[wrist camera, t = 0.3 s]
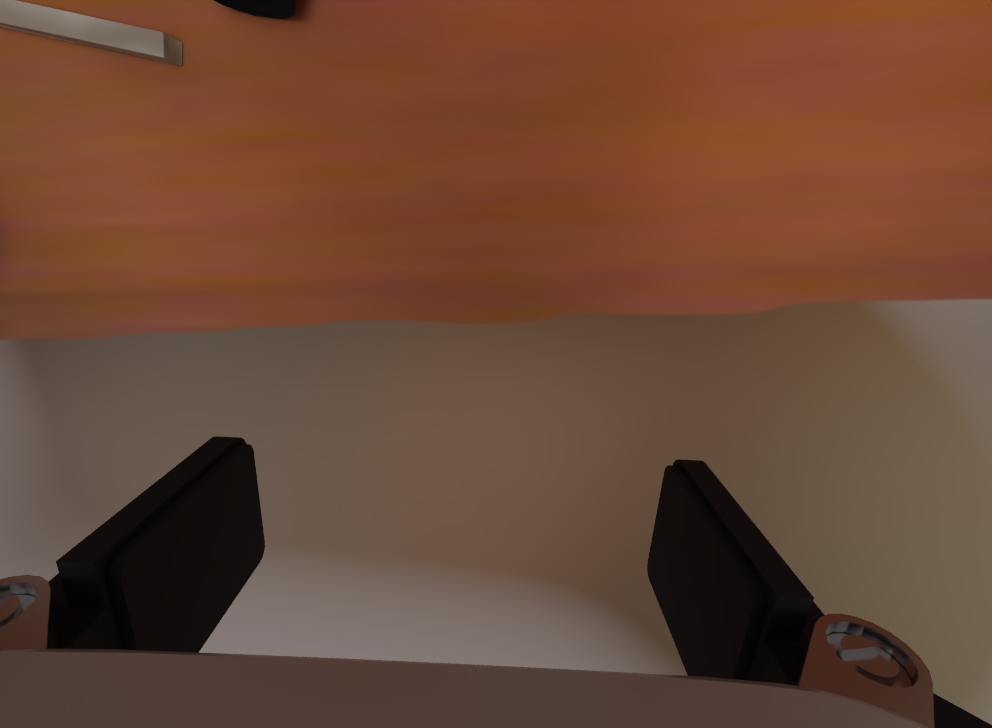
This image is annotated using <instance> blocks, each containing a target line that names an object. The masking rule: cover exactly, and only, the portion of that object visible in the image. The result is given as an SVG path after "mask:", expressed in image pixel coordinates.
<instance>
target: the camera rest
mask: <svg viewBox="0 0 992 728" xmlns="http://www.w3.org/2000/svg"><path fill="white" fill-rule="evenodd" d="M0 27H3V28H7V29H12V30H17V31H21V32H26V33H31V34H35V35H40V36H45V37H49V38H54V39H59V40H63V41H68V42H73V43H77V44H82V45H87V46H91V47H96V48H101V49H105V50H110V51H115V52H119V53H124V54H129V55H133V56H138V57H143V58H147V59H152V60H157V61H161V62H166V63H171V64H175V65H180V66H182V42H181V41H179V40H177V39H175V38H173V37H171V36H169V35H167V34H165V33H163V32H159V31H154V30H150V29H145V28H141V27H136V26H131V25H127V24H122V23H118V22H113V21H108V20H104V19H99V18H95V17H90V16H85V15H81V14H76V13H71V12H67V11H62V10H58V9H53V8H48V7H44V6H39V5H35V4H30V3H25V2H21V1H16V0H0Z"/></svg>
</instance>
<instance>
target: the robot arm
mask: <svg viewBox="0 0 992 728" xmlns="http://www.w3.org/2000/svg"><path fill="white" fill-rule="evenodd" d="M264 548H265V541H264V534H263V525H262V517H261V508H260V501H259V492H258V484H257V475H256V467H255V459H254V451H253V448H252V446H251V445H248V444H246V442H245V440H244V439H242V438H236V437H213V438H211V439H210V440H208V441H207V442H206V443H205V444H204V445H202V446H201V447H200V448H198V449H197V450H196V451H195V452H193V453H192V454H191V455H190V456H188V457H187V458H186V459H185V460H183V461H182V462H181V463H179V464H178V465H177V466H176V467H175V468H173V469H172V470H171V471H169V472H168V473H167V474H166V475H165V476H163V477H162V478H161V479H159V480H158V481H157V482H155V483H154V484H153V485H152V486H150V487H149V488H148V489H147V490H146V491H144V492H143V493H142V494H141V495H139V496H138V497H137V498H135V499H134V500H133V501H132V502H130V503H129V504H128V505H127V506H125V507H124V508H123V509H122V510H120V511H119V512H118V513H116V514H115V515H114V516H113V517H111V518H110V519H109V520H108V521H106V522H105V523H104V524H103V525H101V526H100V527H99V528H98V529H96V530H95V531H94V532H93V533H91V534H90V535H89V536H88V537H86V538H85V539H84V540H83V541H81V542H80V543H79V544H78V545H76V546H75V547H74V548H72V549H71V550H70V551H69V552H67V554H65V555H64V556H62V557H61V558H60V559H58V560H57V561H56V563H57V567H58V570H59V574H57V575H56V576H55V577H54V578H52V580H50V581H49V582H48V581H47V580H45V579H44V578H42V577H40V576H31V575H23V576H13V577H8V578H4V579H0V728H992V725H990V724H989V723H987V722H985V721H983V720H981V719H979V718H978V717H976V716H974V715H972V714H970V713H968V712H967V711H965V710H963V709H961V708H959V707H957V706H956V705H954V704H952V703H950V702H948V701H947V700H945V699H943V698H941V697H939V696H937V695H935V694H934V693H933V682H932V679H931V675H930V672H929V670H928V668H927V667H926V665H925V664H924V662H923V661H922V660H921V658H920V657H919V656H918V655H917V654H916V653H915V652H914V651H913V650H912V649H911V648H910V647H909V646H908V645H907V644H905V643H904V642H903V641H901V640H900V639H899V638H897V637H896V636H894V635H893V634H892V633H890V632H888V631H887V630H885V629H883V628H881V627H879V626H877V625H875V624H874V623H871V622H869V621H866V620H863V619H861V618H858V617H855V616H850V615H845V614H827V615H824V614H823V613H822V612H821V610H820V609H819V608H818V607H817V605H816V604H815V603H814V602H813V599H814V597H813V596H812V595H811V594H810V592H809V591H808V590H807V589H806V587H805V586H804V585H803V584H802V582H801V581H800V580H799V579H798V578H797V576H796V575H795V574H794V572H793V571H792V570H791V569H790V568H789V566H788V565H787V564H786V563H785V561H784V560H783V559H782V558H781V556H780V555H779V554H778V553H777V552H776V550H775V549H774V548H773V546H772V545H771V544H770V543H769V542H768V540H767V539H766V538H765V537H764V535H763V534H762V533H761V532H760V530H759V529H758V528H757V527H756V525H755V524H754V523H753V522H752V521H751V519H750V518H749V517H748V516H747V514H746V513H745V512H744V511H743V509H742V508H741V507H740V506H739V504H738V503H737V502H736V501H735V499H734V498H733V497H732V496H731V494H730V493H729V492H728V491H727V489H726V488H725V487H724V486H723V485H722V483H721V482H720V481H719V480H718V478H717V477H716V476H715V475H714V473H713V472H712V471H711V470H710V469H709V467H708V466H707V465H706V463H704V462H703V461H694V460H676V461H675V462H674V463H673V466H667V467H666V469H665V472H664V478H663V482H662V488H661V493H660V498H659V504H658V509H657V515H656V520H655V525H654V531H653V536H652V542H651V547H650V552H649V558H648V565H647V566H648V568H647V569H648V577H649V580H650V583H651V585H652V587H653V590H654V593H655V595H656V598H657V600H658V602H659V605H660V607H661V610H662V613H663V615H664V617H665V620H666V622H667V625H668V628H669V630H670V633H671V635H672V637H673V639H674V642H675V645H676V647H677V650H678V652H679V655H680V657H681V660H682V662H683V664H684V667H685V670H686V672H687V675H688V676H682V675H664V674H663V675H662V674H645V673H625V672H606V671H588V670H568V669H550V668H530V667H512V666H493V665H472V664H470V665H469V664H450V663H429V662H408V661H384V660H364V659H363V660H362V659H342V658H340V659H339V658H318V657H293V656H269V655H243V654H218V653H198V652H199V651H200V649H201V648H202V646H203V645H204V643H205V642H206V641H207V639H208V638H209V636H210V635H211V633H212V632H213V630H214V629H215V627H216V626H217V624H218V623H219V622H220V620H221V618H222V617H223V615H224V614H225V613H226V611H227V610H228V608H229V607H230V605H231V604H232V602H233V601H234V599H235V598H236V596H237V595H238V594H239V592H240V591H241V589H242V588H243V586H244V585H245V583H246V582H247V580H248V579H249V577H250V576H251V574H252V573H253V571H254V570H255V569H256V567H257V566H258V564H259V563H260V561H261V559H262V557H263V553H264Z"/></svg>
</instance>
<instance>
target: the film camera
mask: <svg viewBox="0 0 992 728" xmlns="http://www.w3.org/2000/svg"><path fill="white" fill-rule="evenodd" d="M214 1H216V2H218V3H220V4H222V5H224V6H227V7H230V8H233V9H236V10H239V11H242V12H245V13H249V14H252V15H255V16H263V17H270V18H280V19H284V18H289V17H291V16H292V15H293V14H294V13H295V0H214Z"/></svg>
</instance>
